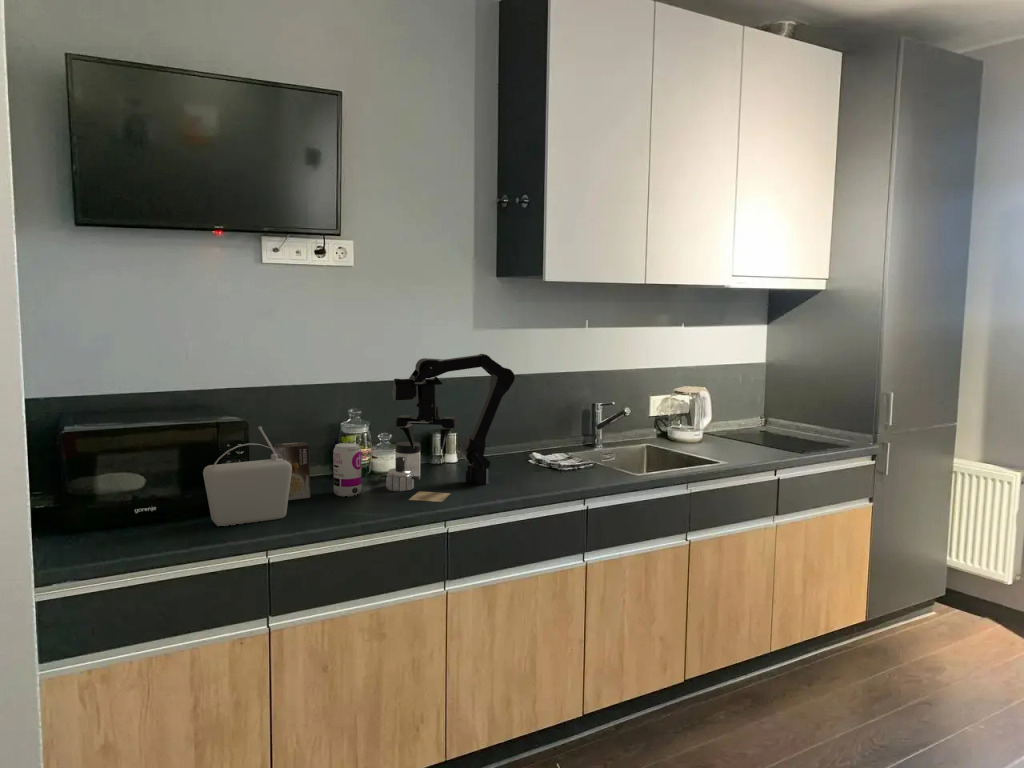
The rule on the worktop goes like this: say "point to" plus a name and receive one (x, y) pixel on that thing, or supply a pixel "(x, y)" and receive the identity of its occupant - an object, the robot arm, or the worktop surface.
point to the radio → (248, 489)
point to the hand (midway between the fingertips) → (427, 448)
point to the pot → (400, 482)
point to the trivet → (430, 496)
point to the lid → (400, 469)
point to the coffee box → (296, 467)
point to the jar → (409, 456)
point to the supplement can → (347, 469)
